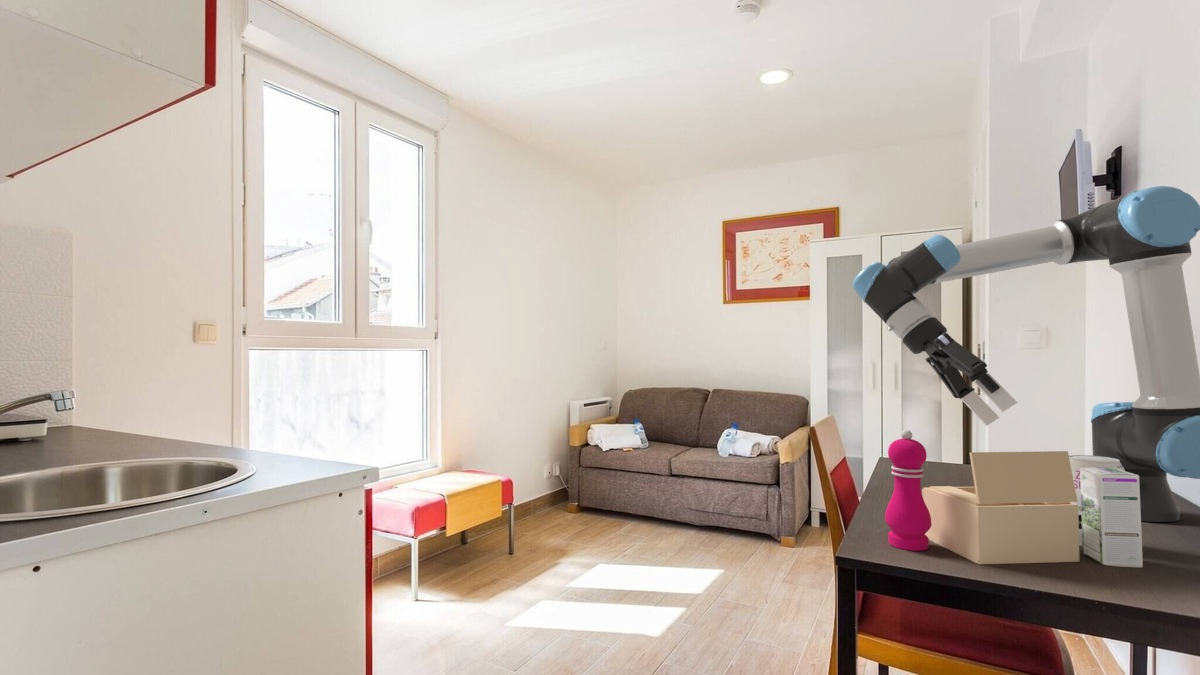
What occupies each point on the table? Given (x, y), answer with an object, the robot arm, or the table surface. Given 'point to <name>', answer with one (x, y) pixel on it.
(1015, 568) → the table surface
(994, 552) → the carton
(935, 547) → the table surface
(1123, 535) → the syrup box
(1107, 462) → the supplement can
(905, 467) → the pepper mill
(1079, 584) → the table surface
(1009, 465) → the long flap
